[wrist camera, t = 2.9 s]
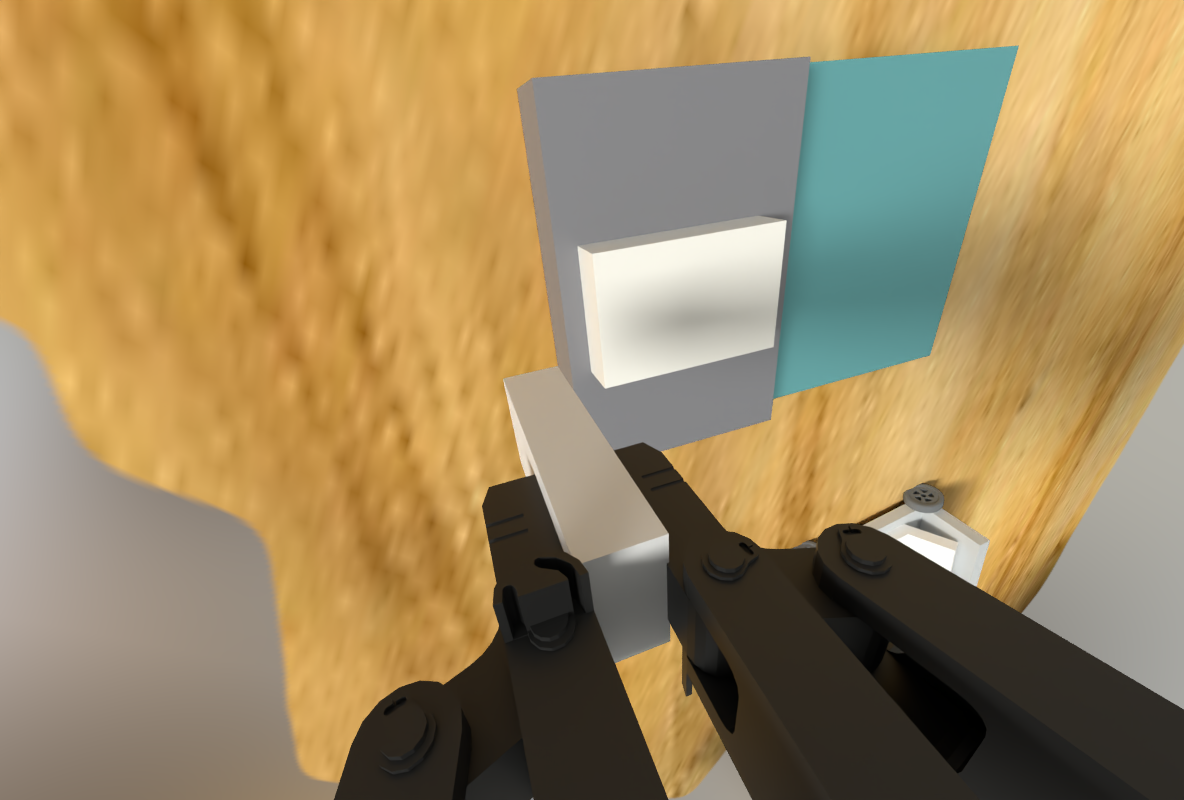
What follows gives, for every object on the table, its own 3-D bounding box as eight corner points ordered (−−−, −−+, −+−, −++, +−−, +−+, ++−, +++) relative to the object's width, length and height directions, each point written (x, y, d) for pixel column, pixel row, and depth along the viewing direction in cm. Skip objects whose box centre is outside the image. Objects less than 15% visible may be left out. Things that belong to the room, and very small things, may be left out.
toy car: (838, 736, 38) (842, 664, 32) (764, 633, 46) (755, 561, 40) (1008, 637, 41) (1041, 554, 35) (909, 557, 49) (921, 478, 43)
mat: (917, 350, 34) (929, 355, 33) (754, 394, 31) (764, 401, 30) (998, 49, 25) (1018, 45, 24) (783, 67, 22) (797, 63, 21)
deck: (741, 398, 31) (770, 419, 28) (569, 445, 28) (584, 473, 25) (765, 68, 22) (810, 56, 19) (516, 89, 19) (532, 78, 16)
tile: (749, 334, 25) (773, 347, 23) (591, 371, 23) (605, 388, 21) (758, 215, 22) (786, 220, 20) (577, 246, 20) (592, 253, 18)
